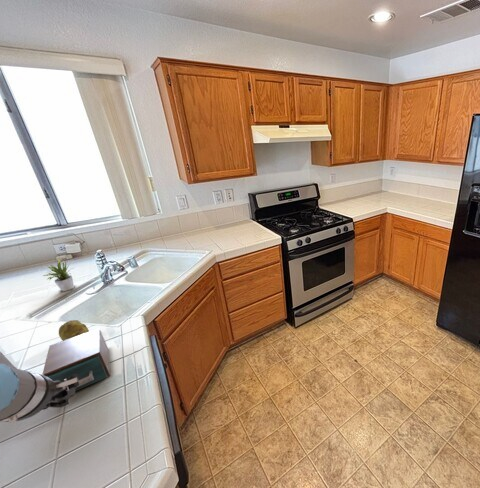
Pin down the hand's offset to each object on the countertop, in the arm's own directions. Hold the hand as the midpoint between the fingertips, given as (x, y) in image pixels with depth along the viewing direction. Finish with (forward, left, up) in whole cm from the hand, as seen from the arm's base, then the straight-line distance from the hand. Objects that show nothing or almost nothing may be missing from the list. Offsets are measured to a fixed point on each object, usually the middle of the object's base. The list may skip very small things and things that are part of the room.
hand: (63, 400), depth 64 cm
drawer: (-8, +18, -9) cm, 22 cm away
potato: (-21, +40, -10) cm, 46 cm away
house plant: (-55, +95, -10) cm, 110 cm away
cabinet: (-10, +22, -10) cm, 26 cm away
